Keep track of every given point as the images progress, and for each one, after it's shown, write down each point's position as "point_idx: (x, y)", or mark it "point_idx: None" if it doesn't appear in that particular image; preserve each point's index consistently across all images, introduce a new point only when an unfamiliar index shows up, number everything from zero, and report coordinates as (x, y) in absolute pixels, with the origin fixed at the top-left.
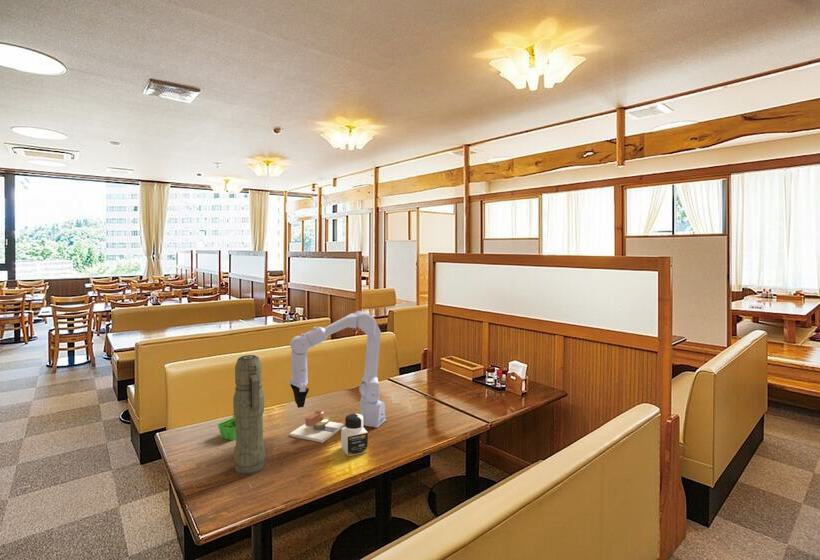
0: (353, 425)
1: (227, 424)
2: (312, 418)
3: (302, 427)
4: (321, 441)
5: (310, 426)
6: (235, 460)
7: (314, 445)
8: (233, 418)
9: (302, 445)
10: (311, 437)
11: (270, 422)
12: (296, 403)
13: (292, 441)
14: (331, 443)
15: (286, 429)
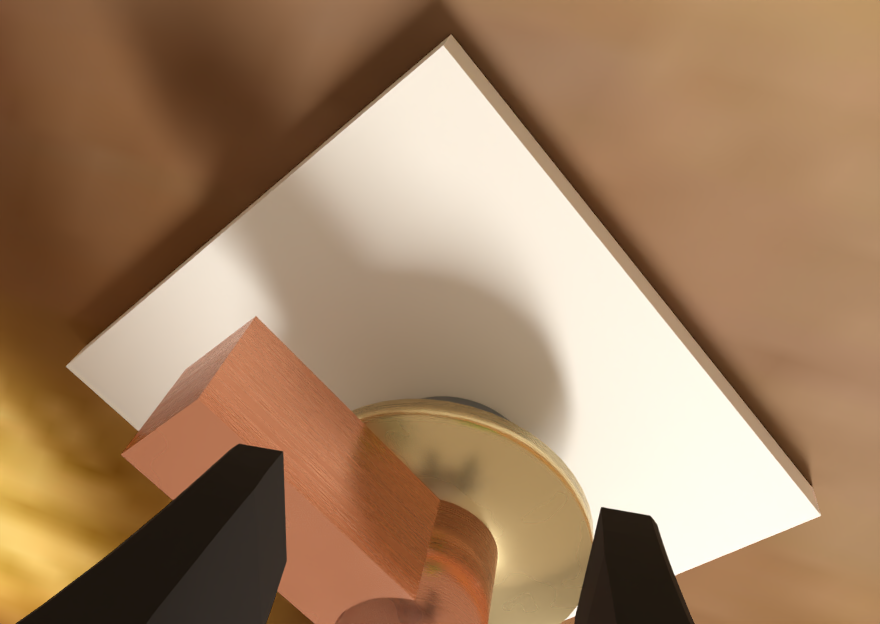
0: None
1: None
2: (158, 483)
3: (575, 288)
4: (85, 346)
5: (188, 368)
6: None
7: (34, 247)
8: None
9: (65, 117)
10: (172, 283)
11: None
12: (600, 516)
13: (234, 21)
14: (46, 412)
15: (761, 51)
